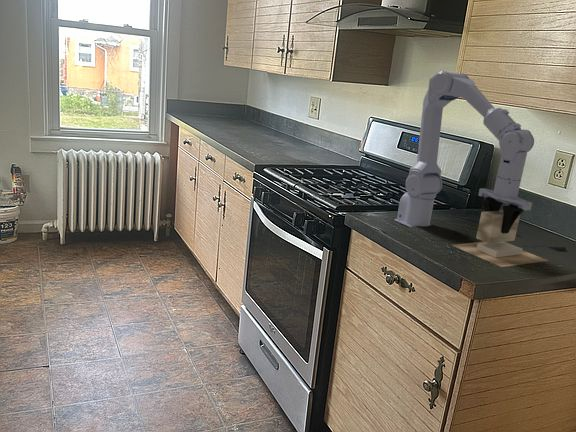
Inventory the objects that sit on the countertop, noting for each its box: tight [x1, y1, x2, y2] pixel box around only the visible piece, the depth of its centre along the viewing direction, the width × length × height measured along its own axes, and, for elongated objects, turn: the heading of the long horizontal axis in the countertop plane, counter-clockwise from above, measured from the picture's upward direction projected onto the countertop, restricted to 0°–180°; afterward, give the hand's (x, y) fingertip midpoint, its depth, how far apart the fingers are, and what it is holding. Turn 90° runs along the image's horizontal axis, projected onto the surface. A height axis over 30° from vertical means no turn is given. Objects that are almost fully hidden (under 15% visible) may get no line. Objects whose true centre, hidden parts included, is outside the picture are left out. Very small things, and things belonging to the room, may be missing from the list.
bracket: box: [515, 230, 567, 252], centre depth 156 cm, size 14×15×3 cm
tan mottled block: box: [475, 210, 521, 243], centre depth 140 cm, size 4×10×7 cm, turn 121°
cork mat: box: [451, 241, 549, 268], centre depth 140 cm, size 16×18×1 cm
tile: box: [477, 241, 524, 257], centre depth 140 cm, size 2×10×6 cm
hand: (497, 230), depth 140 cm, fingers closed on tan mottled block, 4 cm apart
